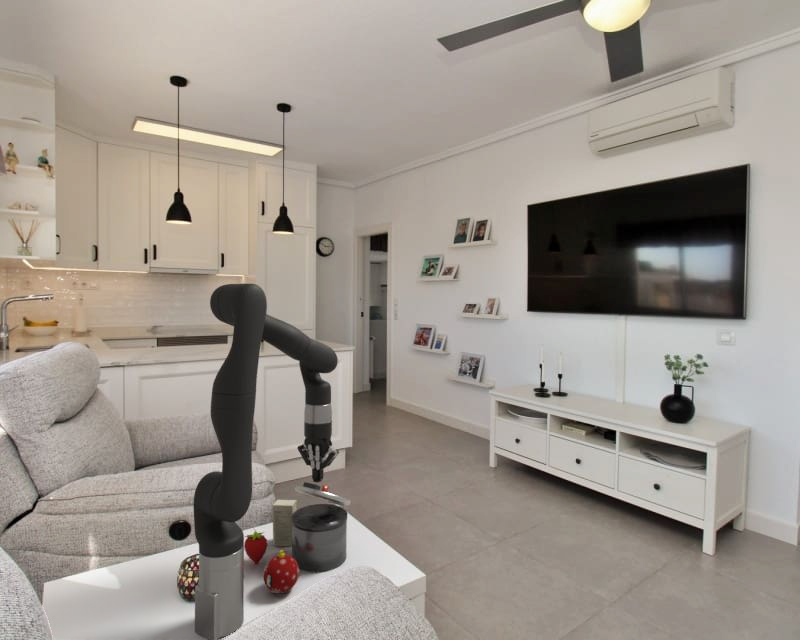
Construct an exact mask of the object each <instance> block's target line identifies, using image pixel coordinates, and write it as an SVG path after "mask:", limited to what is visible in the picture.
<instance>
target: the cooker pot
mask: <svg viewBox="0 0 800 640" xmlns="http://www.w3.org/2000/svg"><path fill="white" fill-rule="evenodd" d="M291 521H292V546H291V556H292V557H293V558H294V559H295V560H296V562H297V564H298V567H299V571H303V572H305V573H324V572H328V571H333V570H335V569H338V568H339V567H341V566H342V565H343V564H344V562H345V561H346V560H347V536H348V535H347V530H348V527H347V524H348V523H347V522H348V511H347V510H346V509H345V508H344V507H342V506H341V505H340V506H339V505H338V504H333V503H316V504H310V505H306V506H303V507H300V508H297V510H296V511H295V512H294V513H293V514H292V517H291Z"/></svg>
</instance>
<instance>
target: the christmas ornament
mask: <svg viewBox="0 0 800 640" xmlns="http://www.w3.org/2000/svg"><path fill="white" fill-rule="evenodd" d="M299 574H300V569H299V567H298V564H297V562H296V560H295V559H294V558H293V557H292V555H290V554H288V553H285V550H284V549H283V550H282V549H280V550H279V552H278V554H276V555H275V556H273V557H271V558H270V559H269V560H268V561H267V562H266V564H265V566H264V569H263V573H262V577H263V579H262V580H263V582H264V585H265V587H266V588H267V589H268V590H269V591H270V592H272V593H274V594H283V593H286V592H287V593H288V592H289V591H290V590H291V589H293V587H294V586H295V585H296V584H297V581H298V579H299V576H300V575H299Z"/></svg>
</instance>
